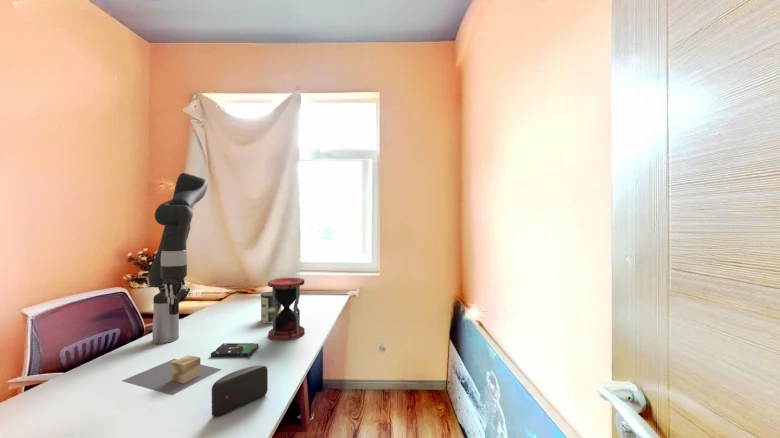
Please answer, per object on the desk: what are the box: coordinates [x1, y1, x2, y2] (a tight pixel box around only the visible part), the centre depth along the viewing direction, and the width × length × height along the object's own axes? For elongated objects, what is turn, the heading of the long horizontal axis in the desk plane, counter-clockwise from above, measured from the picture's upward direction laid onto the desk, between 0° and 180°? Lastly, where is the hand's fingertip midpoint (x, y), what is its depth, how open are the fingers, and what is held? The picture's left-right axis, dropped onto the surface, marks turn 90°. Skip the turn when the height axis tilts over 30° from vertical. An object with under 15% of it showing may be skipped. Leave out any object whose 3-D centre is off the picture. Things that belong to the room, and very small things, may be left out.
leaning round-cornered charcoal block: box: [211, 364, 269, 418], centre depth 97 cm, size 16×5×9 cm, turn 140°
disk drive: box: [210, 342, 260, 359], centre depth 132 cm, size 10×3×15 cm
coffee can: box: [260, 291, 282, 324], centre depth 174 cm, size 10×10×14 cm
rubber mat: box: [121, 358, 222, 396], centre depth 113 cm, size 24×18×1 cm
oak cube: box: [171, 354, 201, 383], centre depth 111 cm, size 6×6×6 cm
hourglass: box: [267, 277, 306, 341], centre depth 153 cm, size 16×16×25 cm
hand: (173, 314), depth 113 cm, fingers closed
